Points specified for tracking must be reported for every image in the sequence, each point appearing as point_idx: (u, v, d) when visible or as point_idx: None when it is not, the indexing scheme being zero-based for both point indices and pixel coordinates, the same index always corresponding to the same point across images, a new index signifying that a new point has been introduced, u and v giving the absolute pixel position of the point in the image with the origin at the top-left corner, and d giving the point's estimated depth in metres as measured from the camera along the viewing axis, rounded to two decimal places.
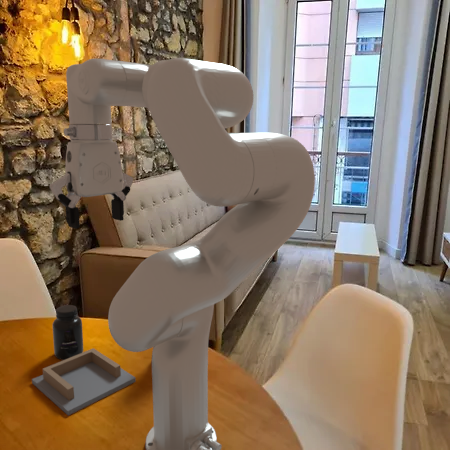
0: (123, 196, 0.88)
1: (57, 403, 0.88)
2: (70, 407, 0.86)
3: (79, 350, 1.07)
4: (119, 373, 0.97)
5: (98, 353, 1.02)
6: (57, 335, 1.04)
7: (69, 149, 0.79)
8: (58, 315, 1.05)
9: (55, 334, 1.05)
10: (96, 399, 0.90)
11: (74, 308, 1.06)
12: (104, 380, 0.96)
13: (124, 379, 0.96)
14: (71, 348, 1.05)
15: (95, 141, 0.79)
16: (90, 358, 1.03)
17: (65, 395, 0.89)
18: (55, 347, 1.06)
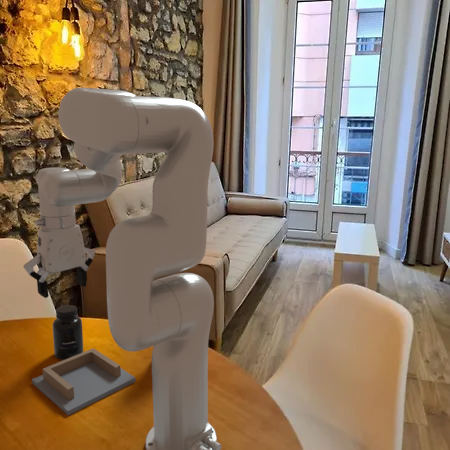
0: (86, 267, 1.07)
1: (57, 403, 0.88)
2: (70, 407, 0.86)
3: (79, 350, 1.07)
4: (119, 373, 0.97)
5: (98, 353, 1.02)
6: (57, 335, 1.04)
7: (39, 235, 0.99)
8: (58, 315, 1.05)
9: (55, 334, 1.05)
10: (96, 399, 0.90)
11: (74, 308, 1.06)
12: (104, 380, 0.96)
13: (124, 379, 0.96)
14: (71, 348, 1.05)
15: (60, 229, 0.98)
16: (90, 358, 1.03)
17: (65, 395, 0.89)
18: (55, 347, 1.06)
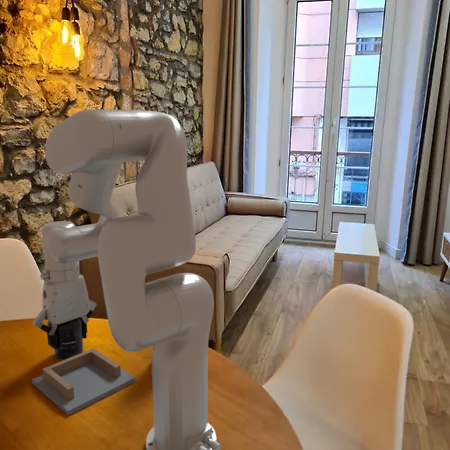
0: (86, 319, 1.09)
1: (57, 403, 0.88)
2: (70, 407, 0.86)
3: (79, 350, 1.07)
4: (119, 373, 0.97)
5: (98, 353, 1.02)
6: (57, 335, 1.04)
7: (45, 288, 1.01)
8: None
9: None
10: (96, 399, 0.90)
11: None
12: (104, 380, 0.96)
13: (124, 379, 0.96)
14: (71, 348, 1.05)
15: (65, 283, 1.01)
16: (90, 358, 1.03)
17: (65, 395, 0.89)
18: None
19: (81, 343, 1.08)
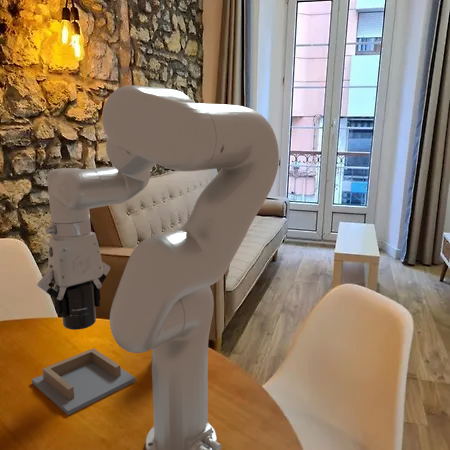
0: (99, 284, 0.95)
1: (57, 403, 0.88)
2: (70, 407, 0.86)
3: (91, 318, 0.92)
4: (119, 373, 0.97)
5: (98, 353, 1.02)
6: None
7: (51, 245, 0.87)
8: None
9: None
10: (96, 399, 0.90)
11: None
12: (104, 380, 0.96)
13: (124, 379, 0.96)
14: (83, 315, 0.91)
15: (74, 237, 0.87)
16: (90, 358, 1.03)
17: (65, 395, 0.89)
18: None
19: (93, 311, 0.93)
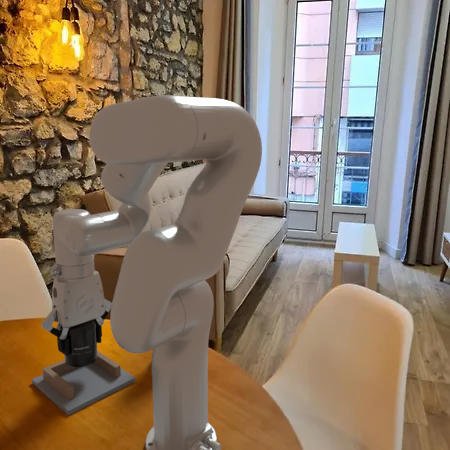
0: (101, 321, 0.96)
1: (57, 403, 0.88)
2: (70, 407, 0.86)
3: (93, 356, 0.94)
4: (119, 373, 0.97)
5: (98, 353, 1.02)
6: None
7: (55, 286, 0.88)
8: None
9: None
10: (96, 399, 0.90)
11: None
12: (104, 380, 0.96)
13: (124, 379, 0.96)
14: (85, 354, 0.92)
15: (78, 279, 0.88)
16: None
17: (65, 395, 0.89)
18: None
19: (95, 348, 0.95)
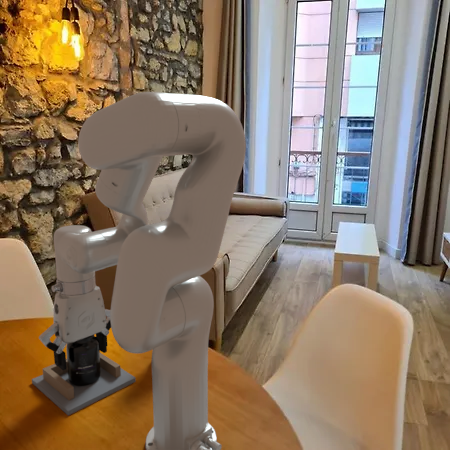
0: (106, 331, 0.97)
1: (57, 403, 0.88)
2: (70, 407, 0.86)
3: (96, 375, 0.95)
4: (119, 373, 0.97)
5: None
6: (72, 359, 0.92)
7: (56, 302, 0.89)
8: None
9: (70, 357, 0.92)
10: (96, 399, 0.90)
11: None
12: (104, 380, 0.96)
13: (124, 379, 0.96)
14: (88, 373, 0.93)
15: (79, 295, 0.88)
16: None
17: (65, 395, 0.89)
18: (69, 372, 0.93)
19: (98, 367, 0.95)
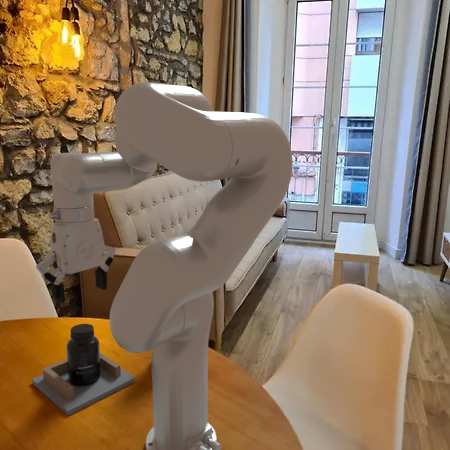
0: (106, 267, 0.94)
1: (57, 403, 0.88)
2: (70, 407, 0.86)
3: (96, 375, 0.95)
4: (119, 373, 0.97)
5: None
6: (72, 359, 0.92)
7: (54, 231, 0.86)
8: (73, 336, 0.92)
9: (69, 357, 0.92)
10: (96, 399, 0.90)
11: (91, 327, 0.94)
12: (104, 380, 0.96)
13: (124, 379, 0.96)
14: (88, 373, 0.93)
15: (78, 223, 0.85)
16: None
17: (65, 395, 0.89)
18: (69, 372, 0.93)
19: (98, 367, 0.95)
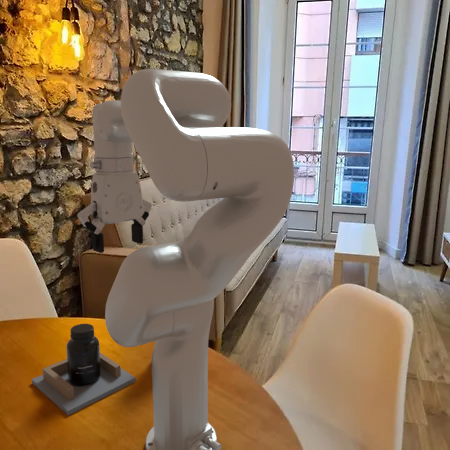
0: (142, 221, 0.95)
1: (57, 403, 0.88)
2: (70, 407, 0.86)
3: (96, 375, 0.95)
4: (119, 373, 0.97)
5: None
6: (72, 359, 0.92)
7: (95, 180, 0.86)
8: (73, 336, 0.92)
9: (70, 357, 0.92)
10: (96, 399, 0.90)
11: (91, 327, 0.94)
12: (104, 380, 0.96)
13: (124, 379, 0.96)
14: (88, 373, 0.93)
15: (119, 173, 0.86)
16: None
17: (65, 395, 0.89)
18: (69, 372, 0.93)
19: (98, 367, 0.95)
